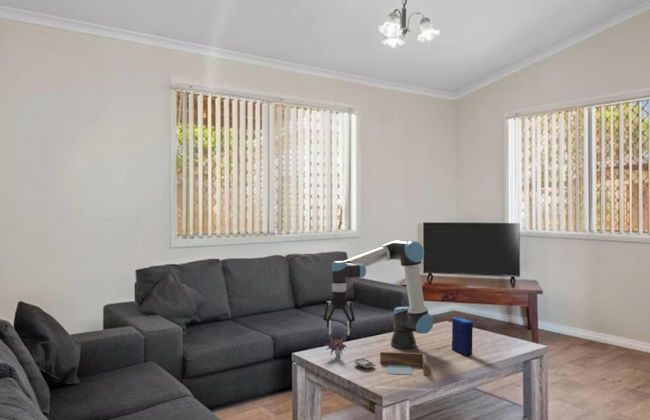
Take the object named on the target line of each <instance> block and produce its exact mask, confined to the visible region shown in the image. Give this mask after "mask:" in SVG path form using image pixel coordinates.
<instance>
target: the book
mask: <svg viewBox="0 0 650 420" xmlns="http://www.w3.org/2000/svg"><path fill="white" fill-rule="evenodd" d="M451 324H452V326H451V328H452V330H451V331H452V333H451V334H452V336H451V337H452V340H451V350H452V351H454V352H456V353H458V354H461V355H462V356H473V331H474V330H473V327H474V326H473V325H474V324H473V321H472V320H468V319H465V318H462V317H459V316H452V323H451Z"/></svg>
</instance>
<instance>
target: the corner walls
mask: <svg viewBox="0 0 650 420" xmlns="http://www.w3.org/2000/svg"><path fill="white" fill-rule="evenodd" d="M379 355H380V356H379V357H380V358H379V360H380V361H379V362H380V364H382V365H383V364H384V365H404V366H422V372H423V376H425V377H427V376H428V360H427V356H426V353H424V352H423V353H422V352H421V353H420V352H402V351H401V352H397V351H380V353H379Z"/></svg>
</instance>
